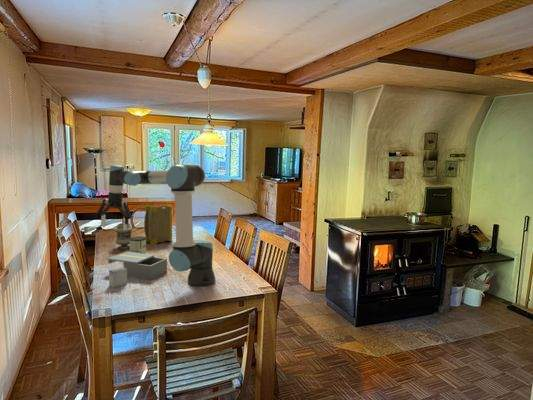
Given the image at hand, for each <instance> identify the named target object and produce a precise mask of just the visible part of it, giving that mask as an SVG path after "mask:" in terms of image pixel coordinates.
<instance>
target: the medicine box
mask: <svg viewBox="0 0 533 400" xmlns="http://www.w3.org/2000/svg"><path fill="white" fill-rule="evenodd" d="M108 279H109V280H108V282H109V283H108V285H109V287H110V288H116V287H117V288H118V287H120V286H125V285H127V284H128V277H127V269H126V268H124V266H121V267H116V268H112V269H109V270H108Z"/></svg>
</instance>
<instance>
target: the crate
mask: <svg viewBox="0 0 533 400" xmlns="http://www.w3.org/2000/svg"><path fill="white" fill-rule="evenodd" d="M123 267H124V268H126V269H127V278H134V279H142V280H149V281H152V280H154V279H155V278H158V277H159V276H161V275H163V274H166V273H167V272H168V259H167V258H165V257H156V256H154V257H152V258H150V259H148V260H145V261H143V262H141V263H138V264H134V263H126V262H123Z"/></svg>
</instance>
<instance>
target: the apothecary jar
mask: <svg viewBox="0 0 533 400" xmlns="http://www.w3.org/2000/svg"><path fill="white" fill-rule="evenodd" d="M132 231H133V227H132V226H131V225H130V223H128V224H127V229H125V230H123V223H118V224H117V226H116V227H115V232H116V239H115V240H114V241H115V243H116V244H117V245H119V246H118V247H117V248H116V249H117V250H119V249H126V250H130V249H129V248H130V238H131V237H132V233H131V232H132Z"/></svg>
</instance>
